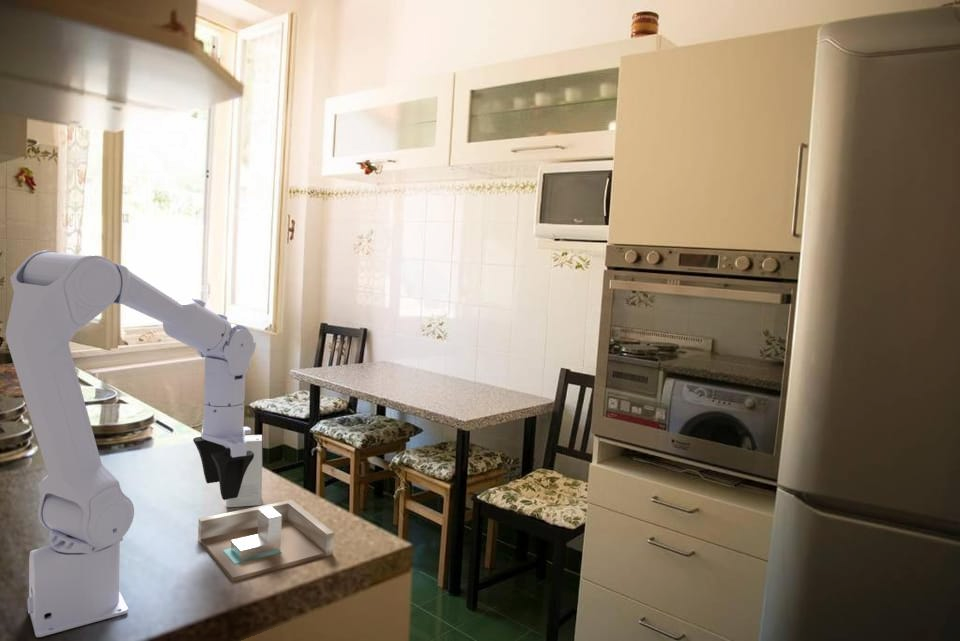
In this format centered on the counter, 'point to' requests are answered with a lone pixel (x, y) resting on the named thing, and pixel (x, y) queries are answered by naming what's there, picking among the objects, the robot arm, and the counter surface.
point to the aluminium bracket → (260, 536)
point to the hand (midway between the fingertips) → (221, 489)
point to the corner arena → (298, 533)
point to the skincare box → (250, 476)
